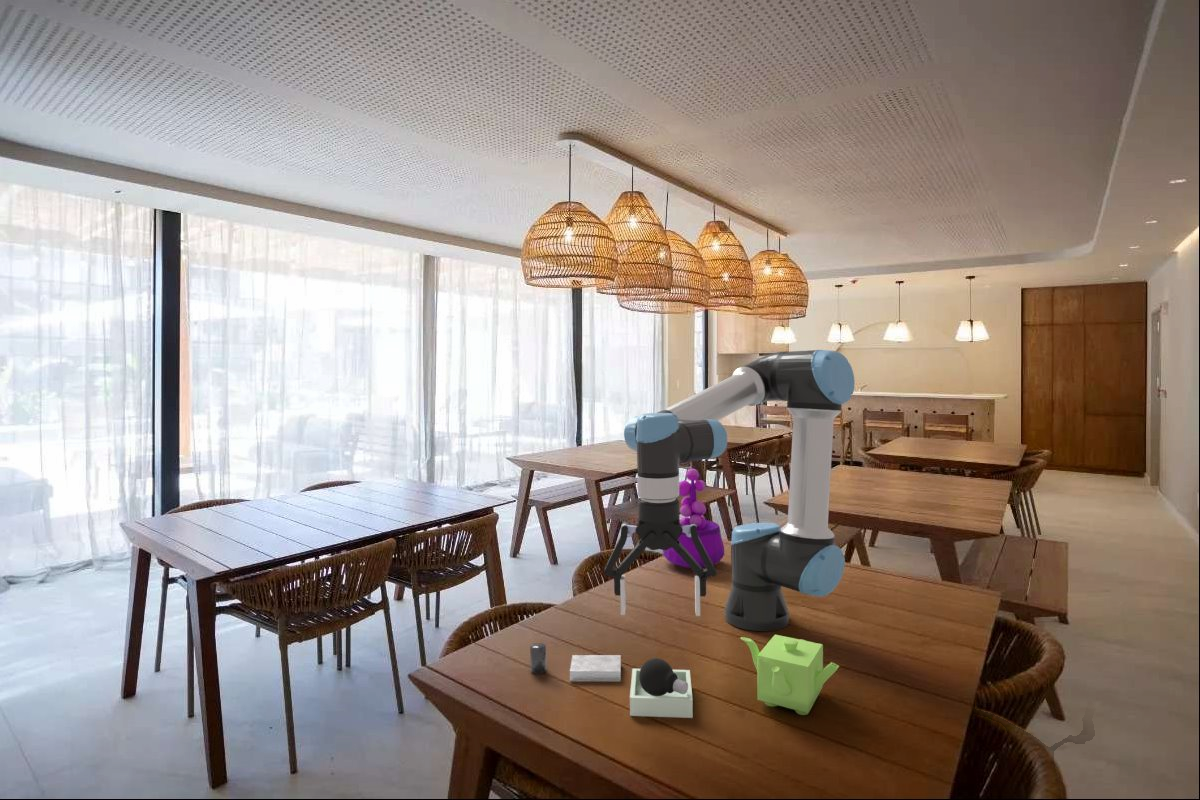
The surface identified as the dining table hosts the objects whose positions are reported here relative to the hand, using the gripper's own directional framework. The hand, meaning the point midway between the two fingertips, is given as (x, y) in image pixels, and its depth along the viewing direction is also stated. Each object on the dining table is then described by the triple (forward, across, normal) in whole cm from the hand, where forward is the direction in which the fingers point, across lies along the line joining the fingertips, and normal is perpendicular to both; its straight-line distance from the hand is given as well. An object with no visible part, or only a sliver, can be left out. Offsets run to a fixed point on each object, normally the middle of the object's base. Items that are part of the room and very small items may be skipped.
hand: (660, 612), depth 119 cm
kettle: (+17, -23, -1) cm, 28 cm away
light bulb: (+15, -1, +2) cm, 15 cm away
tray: (+16, 0, 0) cm, 17 cm away
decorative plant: (+17, -10, -81) cm, 84 cm away
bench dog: (+16, +25, -10) cm, 32 cm away
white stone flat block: (+17, +13, -10) cm, 24 cm away
